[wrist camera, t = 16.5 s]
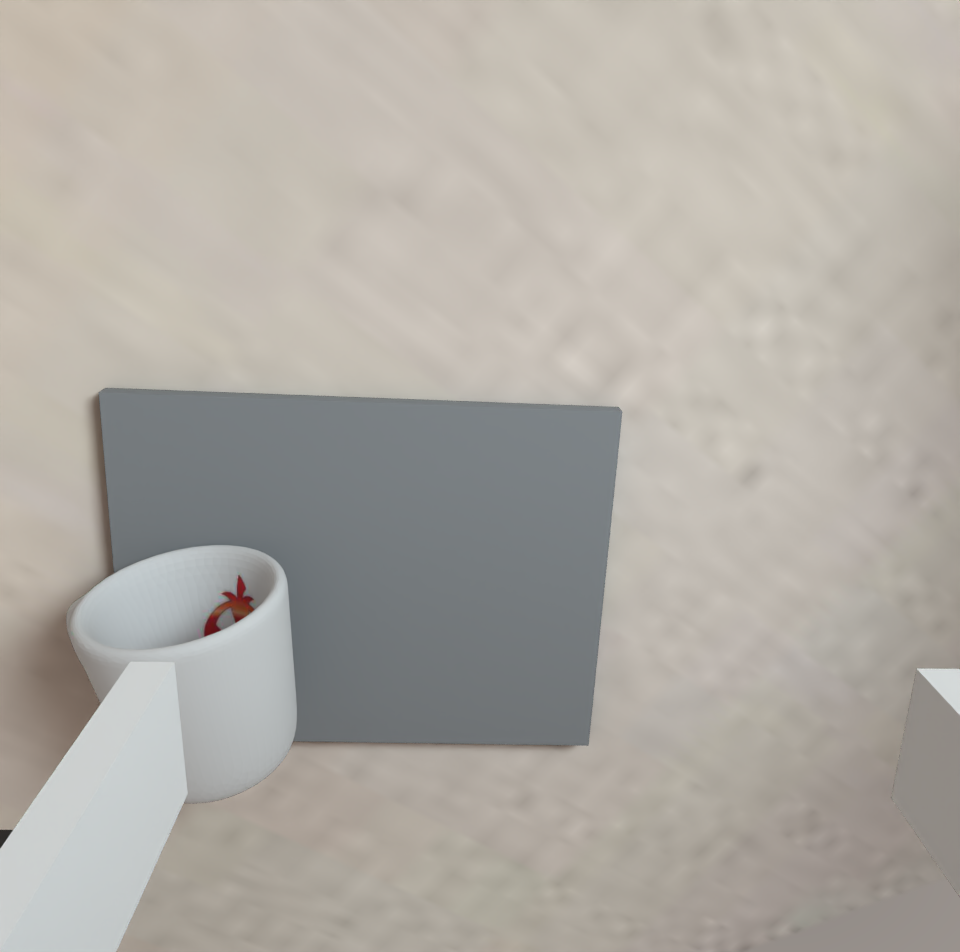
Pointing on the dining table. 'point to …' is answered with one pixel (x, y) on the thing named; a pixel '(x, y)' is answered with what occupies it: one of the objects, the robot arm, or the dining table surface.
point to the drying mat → (393, 547)
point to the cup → (202, 655)
